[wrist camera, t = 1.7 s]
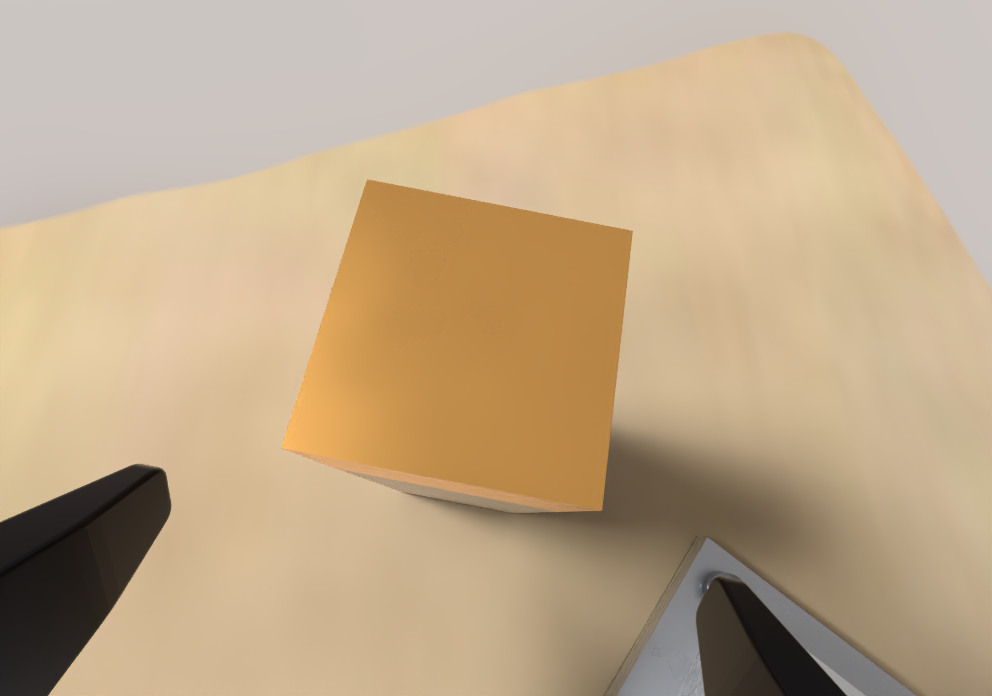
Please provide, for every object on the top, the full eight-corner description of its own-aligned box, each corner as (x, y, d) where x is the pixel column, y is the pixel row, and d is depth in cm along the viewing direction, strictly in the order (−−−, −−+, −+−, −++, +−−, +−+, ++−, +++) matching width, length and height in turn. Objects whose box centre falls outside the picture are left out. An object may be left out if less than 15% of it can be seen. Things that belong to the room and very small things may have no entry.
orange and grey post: (511, 513, 18) (602, 510, 6) (401, 491, 18) (281, 447, 6) (529, 405, 19) (632, 230, 7) (426, 385, 19) (367, 179, 7)
